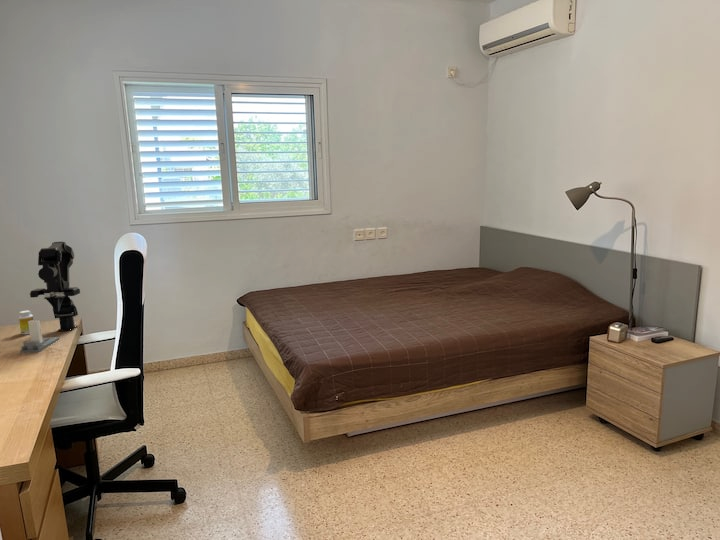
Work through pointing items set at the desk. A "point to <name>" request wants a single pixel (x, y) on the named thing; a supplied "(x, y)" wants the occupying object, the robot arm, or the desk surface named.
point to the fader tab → (35, 331)
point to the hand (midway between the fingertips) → (57, 311)
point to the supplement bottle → (25, 321)
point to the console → (37, 345)
